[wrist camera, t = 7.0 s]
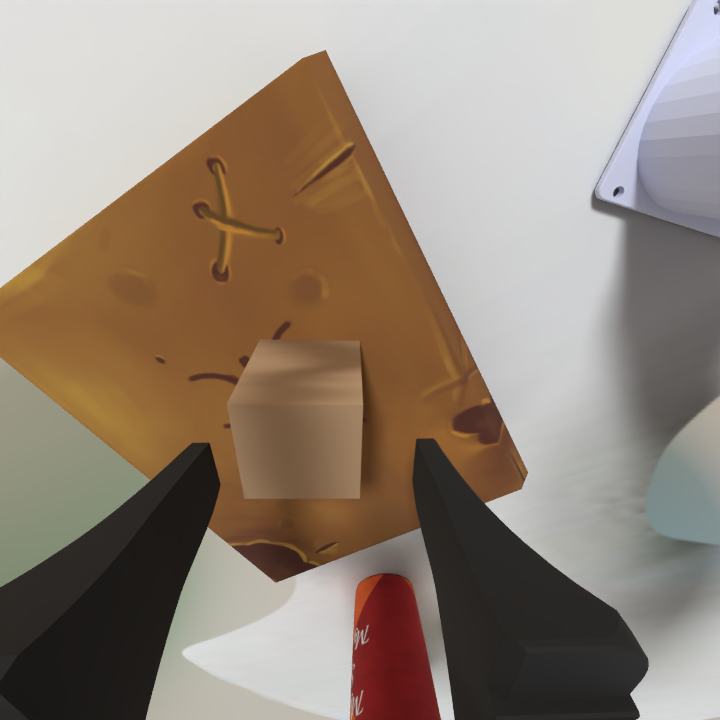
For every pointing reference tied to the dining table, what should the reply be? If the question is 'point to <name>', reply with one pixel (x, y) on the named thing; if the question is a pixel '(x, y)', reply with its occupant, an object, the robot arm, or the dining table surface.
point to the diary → (261, 319)
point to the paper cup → (390, 654)
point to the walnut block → (299, 420)
